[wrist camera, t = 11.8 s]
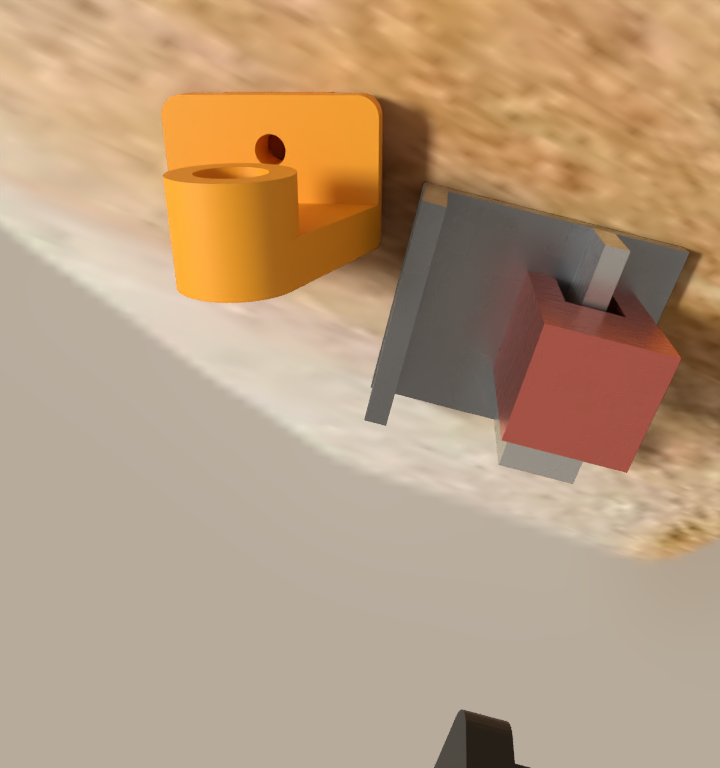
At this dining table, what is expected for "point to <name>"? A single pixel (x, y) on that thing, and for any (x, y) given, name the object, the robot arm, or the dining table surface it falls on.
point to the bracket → (269, 189)
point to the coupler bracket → (498, 300)
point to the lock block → (580, 375)
